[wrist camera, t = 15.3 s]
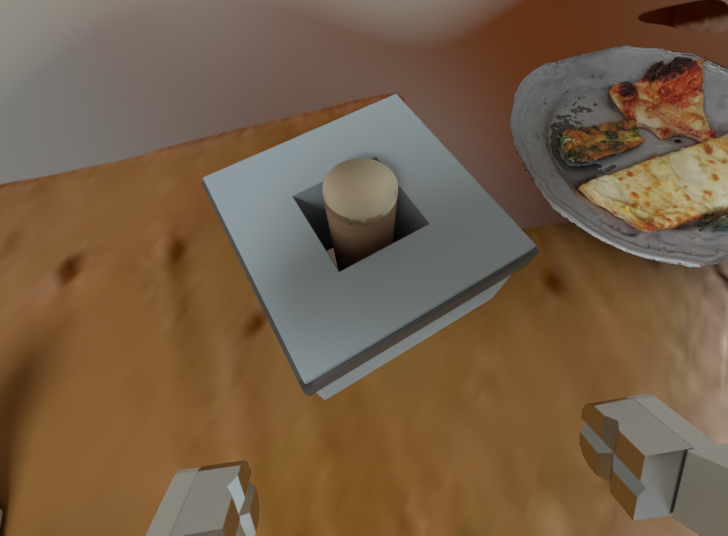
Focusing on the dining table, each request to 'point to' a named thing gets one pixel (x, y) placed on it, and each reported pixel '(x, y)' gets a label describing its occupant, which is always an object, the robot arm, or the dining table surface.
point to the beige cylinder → (360, 209)
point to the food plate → (632, 149)
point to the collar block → (378, 271)
